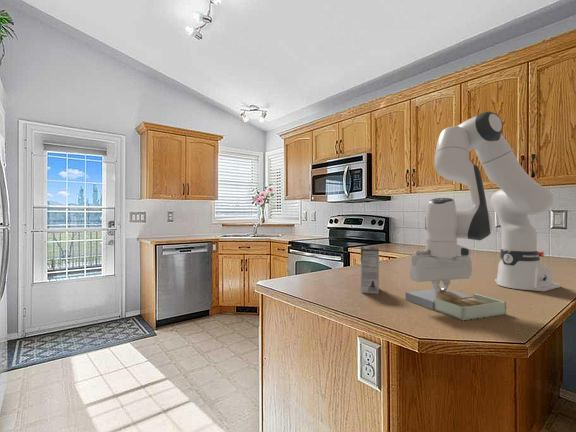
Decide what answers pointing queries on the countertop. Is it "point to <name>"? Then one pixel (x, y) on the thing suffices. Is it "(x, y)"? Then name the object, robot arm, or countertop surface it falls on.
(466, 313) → the tray
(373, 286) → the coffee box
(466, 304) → the tile
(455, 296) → the tile
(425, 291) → the board
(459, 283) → the countertop surface
